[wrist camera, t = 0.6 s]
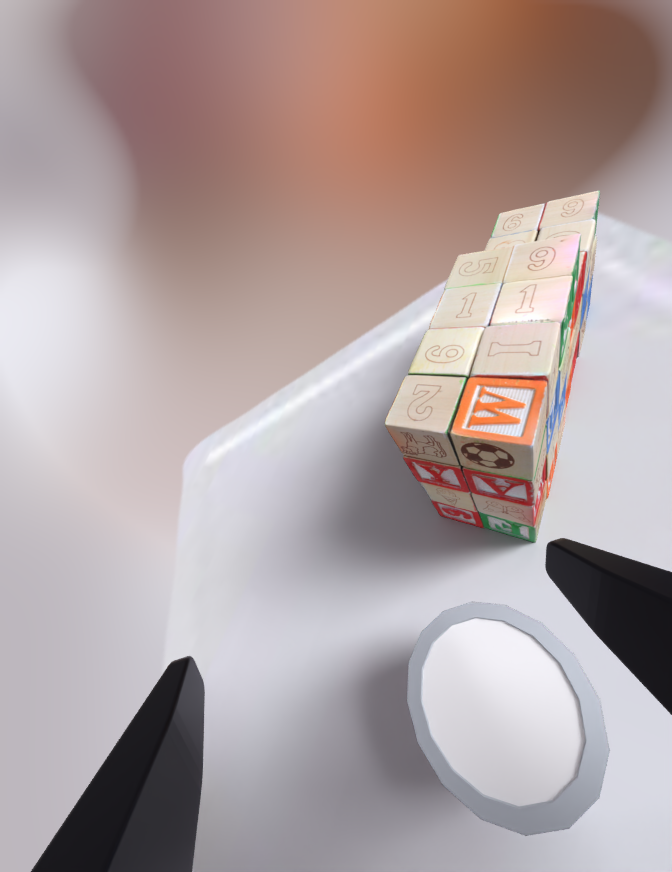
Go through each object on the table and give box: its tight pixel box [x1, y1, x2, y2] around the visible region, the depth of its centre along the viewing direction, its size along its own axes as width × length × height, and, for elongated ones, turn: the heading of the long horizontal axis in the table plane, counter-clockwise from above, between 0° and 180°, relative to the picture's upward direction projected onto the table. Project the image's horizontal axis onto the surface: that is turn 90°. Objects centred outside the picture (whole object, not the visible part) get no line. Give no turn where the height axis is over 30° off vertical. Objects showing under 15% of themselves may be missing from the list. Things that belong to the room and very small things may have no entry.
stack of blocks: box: [385, 191, 600, 542], centre depth 22 cm, size 21×6×12 cm, turn 150°
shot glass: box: [407, 602, 610, 836], centre depth 15 cm, size 7×7×7 cm
